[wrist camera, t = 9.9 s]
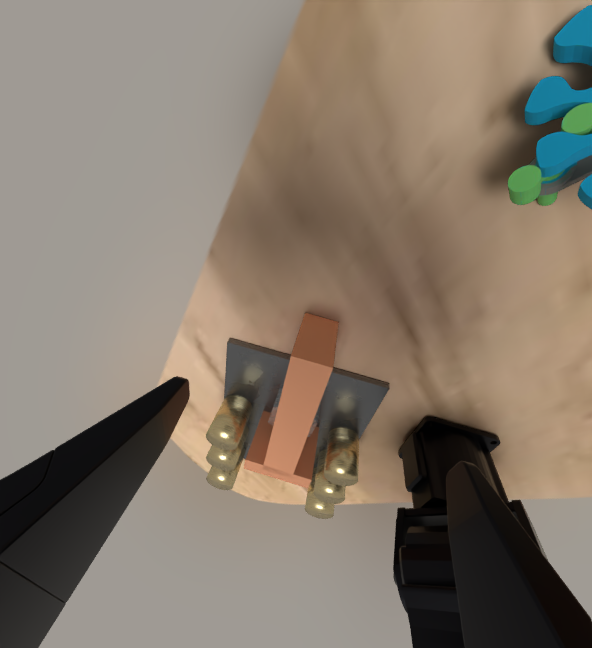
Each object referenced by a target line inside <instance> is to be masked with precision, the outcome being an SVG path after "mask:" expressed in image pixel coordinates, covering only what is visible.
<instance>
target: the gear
mask: <svg viewBox="0 0 592 648" xmlns="http://www.w3.org/2000/svg"><path fill="white" fill-rule="evenodd" d="M553 57H554V59H555V60H556V61H557V62H559V63H570V62H578V63H584V64H588V65H590V66H592V5H589V6H587V7H586V8H584V9H583V10H581V11H580V12H579V13H578V14H577V15H575V16H574V17H573V18H572V19H571V20H570V21H569V22H568V23H567V24H566V25H565V26H564V27H563V28H562V29H561V31H560V32H559V33H558V34H557V35H556V36H555V37H554V48H553ZM562 117H564V119H563V121H562V126H561V132H555V133H551V134H549V135H546V136H545V137H543V138H541V139H540V140H539V141H538V143H537V147H536V158H534V159H533V160H532V161H531V162H530V164H529V165H527V166H523V167H521V168H518V169H517V170H515V171H514V172H513V173H512V174H511V176H510V177H509V179H508V188H509V194H510V199H511V201H512V202H513V203H515V204H518V205H523V204H528V203H530V202H532V201H533V200H535V199H536V198H537V197H538V200H537V201H538V203H539V204H540V205H542V206H547V205H550V204H552V203H553V202H555V200H556V199H557V194H558V191H560V190H562V189H564V188H566V187H568V186H570V185H572V184H574V183H576V182H579V181H581V180H583V179H585V178H586V179H585V180H584V181H583V182H582V183H581V185H580V188H579V191H578V197H579V199H580V200H581V201H582V202H583V203H584V204H585V205H586V206H588V207H589V208H590V209H592V87H591V88H589V89H586V90H580V91H579V90H574V89H572V88H571V87H570V86H569V85H568V83H567V82H566V80H565V79H564V78H562V77H560V76H551V77H547V78H544V79H542V80H541V81H540V82H539V83H538V84H537V85H536V87H535V88H534V90H533V92H532V93H531V95H530V98H529V100H528V102H527V105H526V108H525V123H527V124H529V125H540V124H543V123H546V122H548V121H551V120H554V119H558V118H562Z"/></svg>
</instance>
